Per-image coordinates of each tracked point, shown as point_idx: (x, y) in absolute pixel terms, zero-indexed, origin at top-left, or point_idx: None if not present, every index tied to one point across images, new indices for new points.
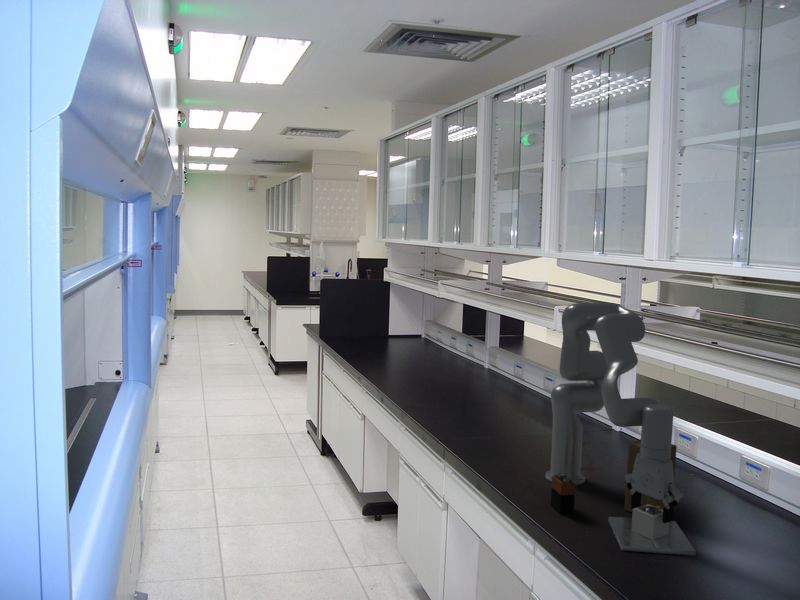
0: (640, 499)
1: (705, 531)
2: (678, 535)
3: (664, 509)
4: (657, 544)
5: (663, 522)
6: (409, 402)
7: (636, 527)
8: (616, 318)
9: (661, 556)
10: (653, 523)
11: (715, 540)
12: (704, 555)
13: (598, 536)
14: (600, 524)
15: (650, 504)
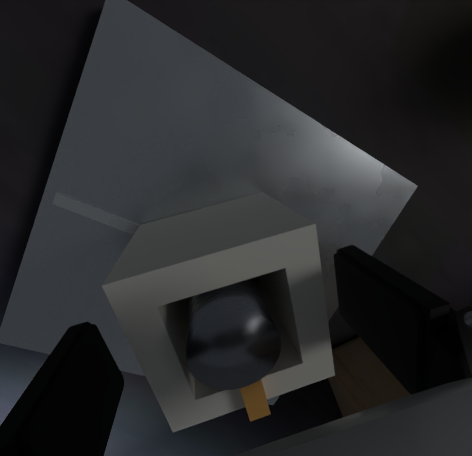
0: (379, 354)
1: (199, 449)
2: None
3: (2, 434)
4: (85, 214)
5: (81, 323)
6: None
7: (240, 204)
8: None
9: (17, 179)
10: (119, 260)
11: (131, 446)
12: (12, 359)
13: (302, 2)
14: (393, 121)
15: (379, 392)
